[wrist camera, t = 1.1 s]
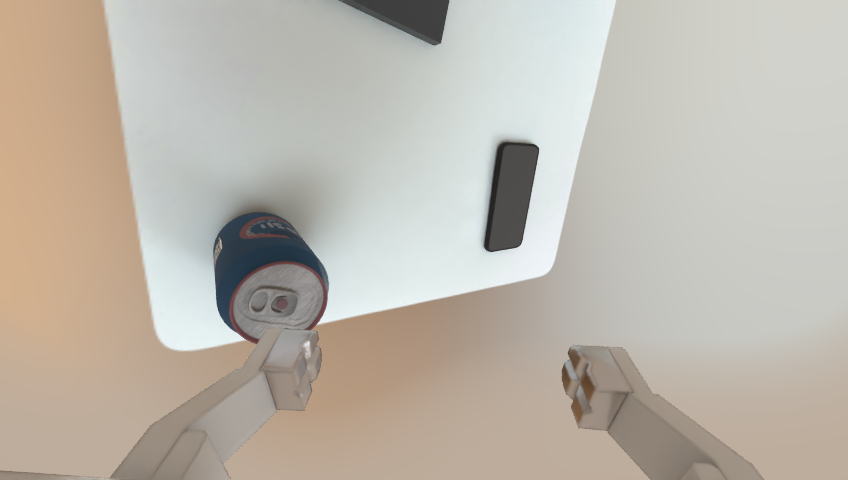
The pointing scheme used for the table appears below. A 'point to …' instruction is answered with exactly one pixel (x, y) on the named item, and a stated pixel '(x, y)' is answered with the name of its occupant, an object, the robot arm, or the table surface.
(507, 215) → the smartphone
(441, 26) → the scale
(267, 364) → the robot arm
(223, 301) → the soda can
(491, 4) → the table surface
